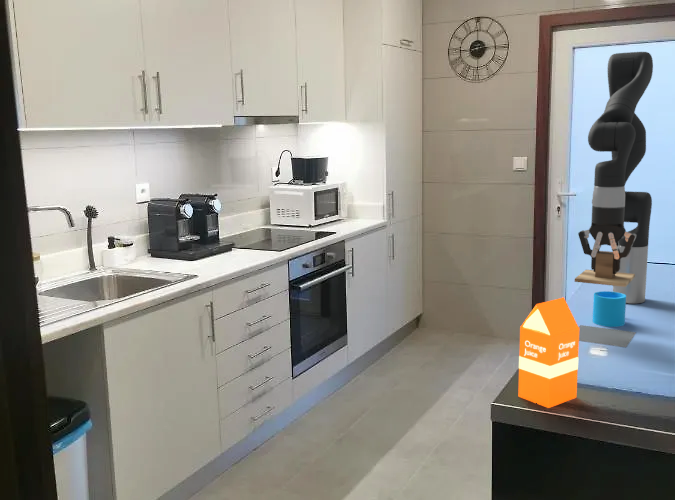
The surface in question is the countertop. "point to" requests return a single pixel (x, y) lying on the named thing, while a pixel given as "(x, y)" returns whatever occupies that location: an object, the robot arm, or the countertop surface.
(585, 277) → the oak lid
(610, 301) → the mug
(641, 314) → the countertop surface
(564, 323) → the orange juice
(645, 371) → the countertop surface
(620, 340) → the rubber mat
